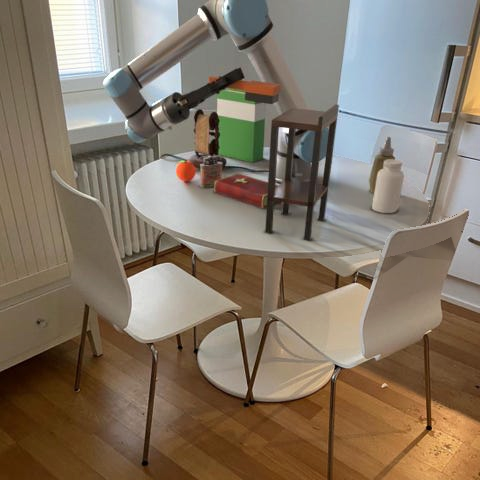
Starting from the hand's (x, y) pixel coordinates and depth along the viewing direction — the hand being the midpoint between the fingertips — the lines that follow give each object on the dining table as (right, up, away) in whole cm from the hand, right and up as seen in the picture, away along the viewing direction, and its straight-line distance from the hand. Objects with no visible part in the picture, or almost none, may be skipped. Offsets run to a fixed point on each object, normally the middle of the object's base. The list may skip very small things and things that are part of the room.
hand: (240, 73), depth 133 cm
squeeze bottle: (+48, -18, +43) cm, 67 cm away
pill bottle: (+46, -28, +29) cm, 61 cm away
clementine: (-20, -13, +48) cm, 53 cm away
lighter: (-10, -16, +44) cm, 48 cm away
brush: (0, -5, +3) cm, 6 cm away
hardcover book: (+3, -22, +36) cm, 43 cm away
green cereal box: (0, +6, +75) cm, 76 cm away
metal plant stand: (+16, -36, +16) cm, 43 cm away
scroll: (-13, -3, +62) cm, 64 cm away
